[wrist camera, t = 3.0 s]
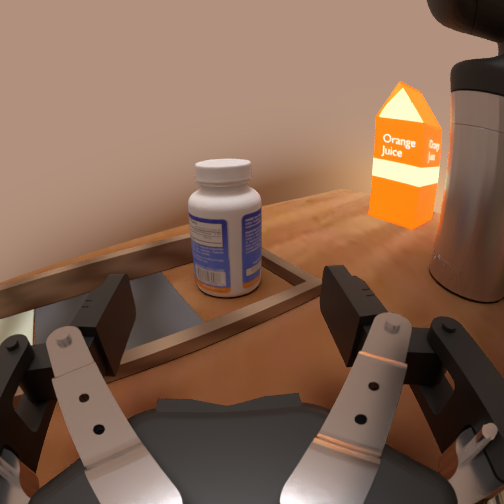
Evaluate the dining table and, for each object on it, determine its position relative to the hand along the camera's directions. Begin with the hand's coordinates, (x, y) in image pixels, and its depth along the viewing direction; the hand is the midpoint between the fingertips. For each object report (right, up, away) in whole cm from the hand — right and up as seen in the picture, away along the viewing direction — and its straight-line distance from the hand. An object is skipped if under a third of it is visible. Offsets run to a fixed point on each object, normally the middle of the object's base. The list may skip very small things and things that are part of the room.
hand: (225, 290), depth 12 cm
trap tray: (-9, -3, +7) cm, 12 cm away
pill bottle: (-1, -1, +13) cm, 13 cm away
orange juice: (+24, +7, +29) cm, 38 cm away
